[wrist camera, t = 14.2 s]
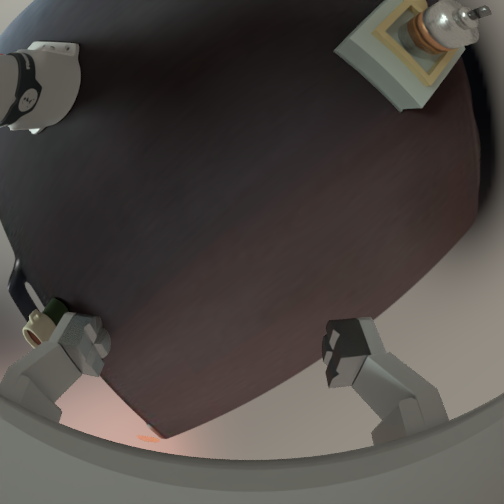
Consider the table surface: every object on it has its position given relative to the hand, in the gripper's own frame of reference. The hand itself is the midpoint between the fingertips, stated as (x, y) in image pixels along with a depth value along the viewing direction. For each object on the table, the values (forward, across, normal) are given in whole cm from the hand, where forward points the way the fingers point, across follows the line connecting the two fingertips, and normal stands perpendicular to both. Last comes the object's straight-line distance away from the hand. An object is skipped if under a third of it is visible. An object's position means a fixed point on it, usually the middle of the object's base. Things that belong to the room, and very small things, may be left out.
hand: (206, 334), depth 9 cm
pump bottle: (+28, -24, -19) cm, 41 cm away
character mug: (+32, +46, +32) cm, 64 cm away
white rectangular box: (+34, -24, -18) cm, 46 cm away
